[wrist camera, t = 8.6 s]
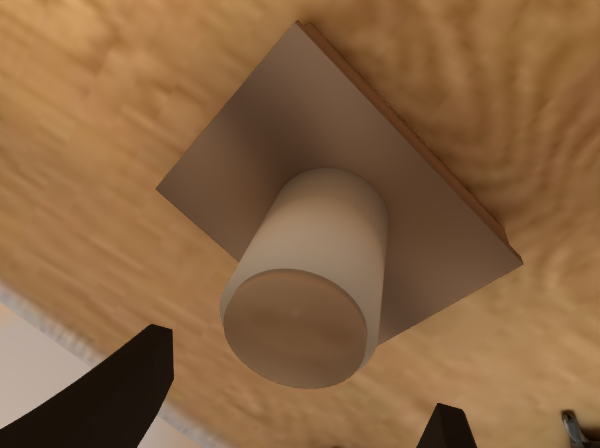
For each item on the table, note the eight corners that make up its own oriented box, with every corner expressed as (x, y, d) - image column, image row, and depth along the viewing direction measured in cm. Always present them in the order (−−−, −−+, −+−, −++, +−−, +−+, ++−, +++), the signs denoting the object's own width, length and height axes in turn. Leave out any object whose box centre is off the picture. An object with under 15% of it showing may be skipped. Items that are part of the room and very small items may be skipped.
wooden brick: (310, 14, 16) (294, 22, 14) (511, 230, 19) (523, 264, 17) (181, 166, 21) (155, 189, 19) (357, 324, 23) (351, 360, 21)
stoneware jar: (277, 158, 17) (211, 254, 11) (399, 179, 16) (392, 291, 11) (270, 256, 19) (214, 375, 14) (377, 278, 19) (362, 411, 13)
